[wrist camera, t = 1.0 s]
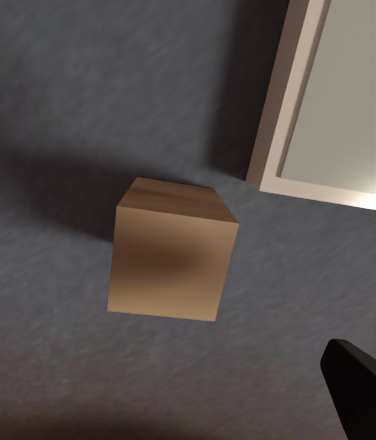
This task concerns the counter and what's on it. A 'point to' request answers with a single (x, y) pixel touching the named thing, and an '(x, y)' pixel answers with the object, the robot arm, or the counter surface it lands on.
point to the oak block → (170, 250)
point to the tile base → (321, 106)
